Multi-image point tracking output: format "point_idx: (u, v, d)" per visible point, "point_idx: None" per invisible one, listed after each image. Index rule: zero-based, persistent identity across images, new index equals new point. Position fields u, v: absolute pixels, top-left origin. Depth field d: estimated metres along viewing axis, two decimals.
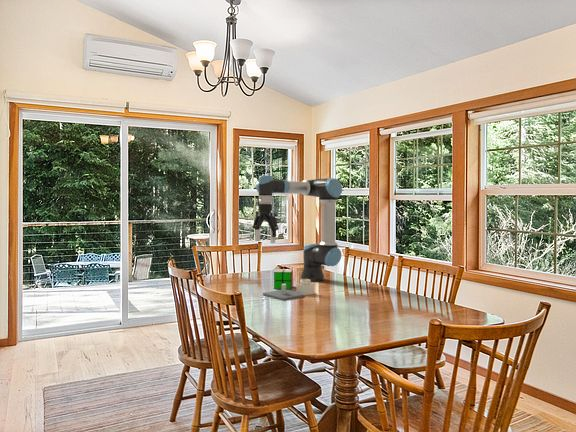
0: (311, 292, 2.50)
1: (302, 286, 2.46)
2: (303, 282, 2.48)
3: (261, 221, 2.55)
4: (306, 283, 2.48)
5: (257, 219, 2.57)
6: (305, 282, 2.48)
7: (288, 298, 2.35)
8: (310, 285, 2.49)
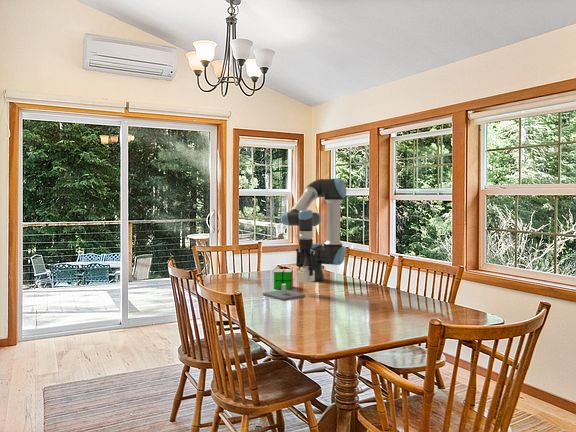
0: None
1: (302, 273, 2.47)
2: (303, 269, 2.48)
3: (303, 257, 2.52)
4: (306, 270, 2.48)
5: (299, 256, 2.54)
6: (305, 269, 2.48)
7: (288, 298, 2.35)
8: None
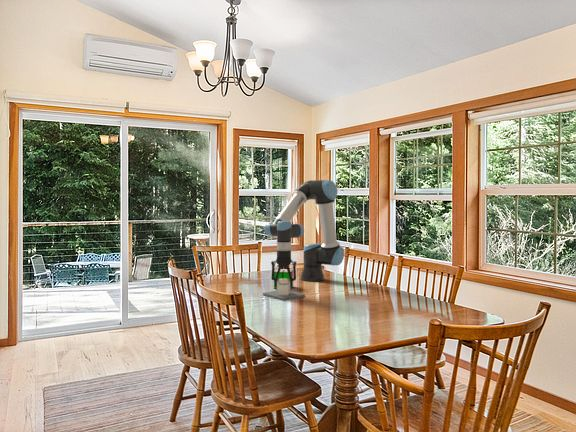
0: None
1: (286, 286, 2.40)
2: (285, 282, 2.41)
3: (280, 269, 2.44)
4: (287, 282, 2.42)
5: (274, 268, 2.44)
6: (287, 281, 2.42)
7: (288, 298, 2.35)
8: None
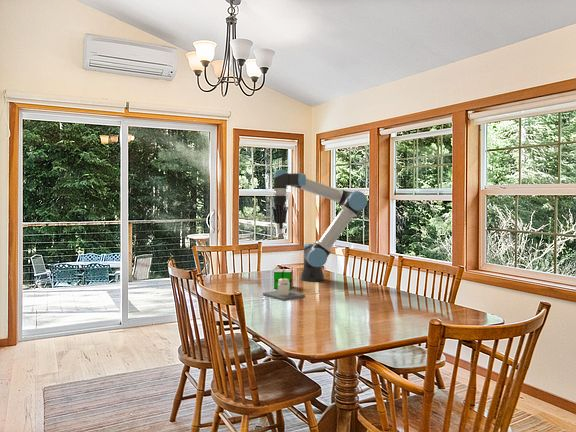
0: None
1: (286, 286, 2.40)
2: (285, 282, 2.41)
3: None
4: (287, 282, 2.42)
5: (275, 212, 2.81)
6: (287, 282, 2.42)
7: (288, 298, 2.35)
8: None
